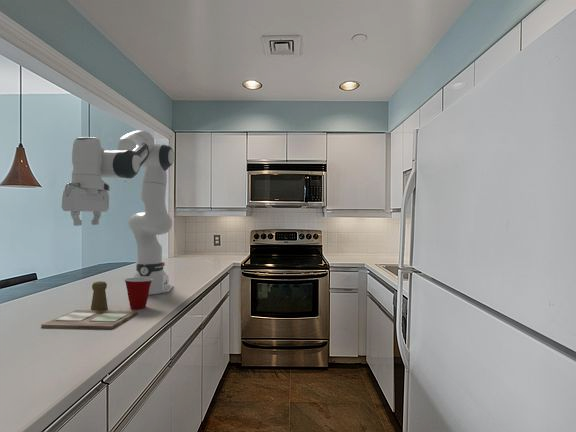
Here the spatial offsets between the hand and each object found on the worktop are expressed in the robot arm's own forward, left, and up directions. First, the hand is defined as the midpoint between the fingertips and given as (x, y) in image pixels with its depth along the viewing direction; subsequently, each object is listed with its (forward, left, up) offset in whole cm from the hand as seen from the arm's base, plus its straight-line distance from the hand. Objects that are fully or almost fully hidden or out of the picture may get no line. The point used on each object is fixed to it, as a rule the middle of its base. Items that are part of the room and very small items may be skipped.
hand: (86, 225), depth 118 cm
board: (-6, -1, -34) cm, 35 cm away
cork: (-20, -7, -34) cm, 40 cm away
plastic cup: (-24, +7, -34) cm, 42 cm away
